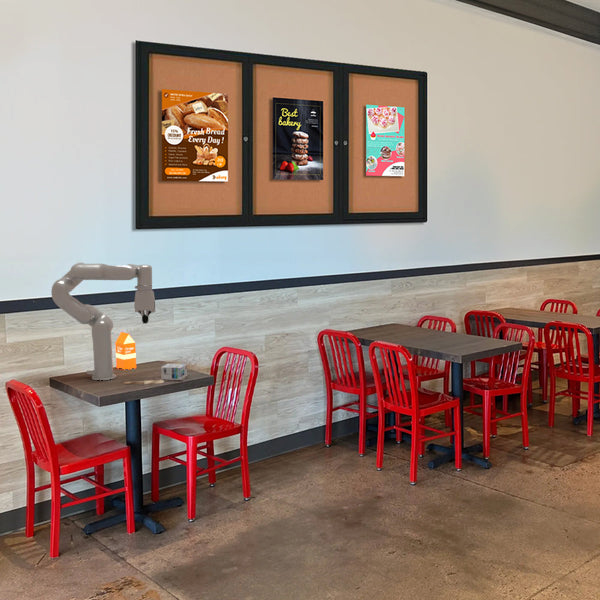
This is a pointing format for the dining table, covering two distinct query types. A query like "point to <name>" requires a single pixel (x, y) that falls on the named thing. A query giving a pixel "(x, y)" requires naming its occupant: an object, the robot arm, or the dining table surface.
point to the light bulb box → (173, 371)
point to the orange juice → (125, 352)
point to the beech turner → (146, 382)
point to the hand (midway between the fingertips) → (145, 323)
